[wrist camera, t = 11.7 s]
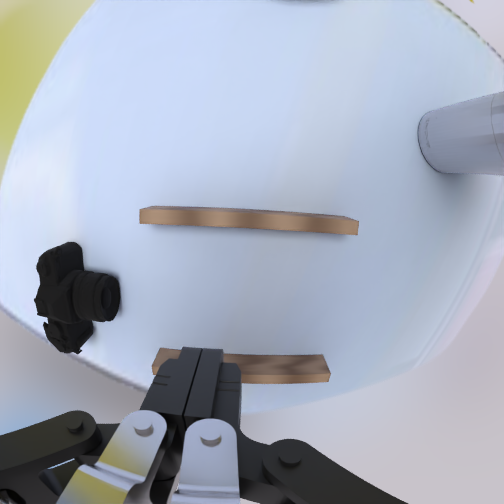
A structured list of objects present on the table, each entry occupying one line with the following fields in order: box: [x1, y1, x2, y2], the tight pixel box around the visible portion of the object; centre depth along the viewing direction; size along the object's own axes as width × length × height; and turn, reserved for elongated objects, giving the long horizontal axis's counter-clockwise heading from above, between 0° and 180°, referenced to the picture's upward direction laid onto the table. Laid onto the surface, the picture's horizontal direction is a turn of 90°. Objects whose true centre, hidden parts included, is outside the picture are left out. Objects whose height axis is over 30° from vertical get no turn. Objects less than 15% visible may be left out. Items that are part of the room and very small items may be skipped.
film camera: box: [34, 242, 120, 354], centre depth 29 cm, size 15×10×9 cm, turn 176°
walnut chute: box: [140, 206, 359, 384], centre depth 32 cm, size 23×21×4 cm
